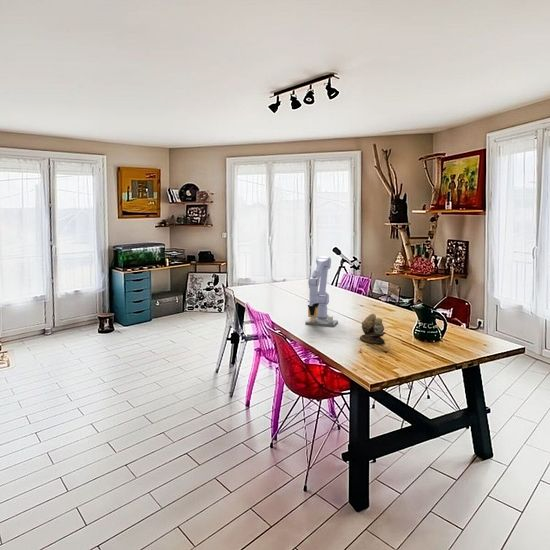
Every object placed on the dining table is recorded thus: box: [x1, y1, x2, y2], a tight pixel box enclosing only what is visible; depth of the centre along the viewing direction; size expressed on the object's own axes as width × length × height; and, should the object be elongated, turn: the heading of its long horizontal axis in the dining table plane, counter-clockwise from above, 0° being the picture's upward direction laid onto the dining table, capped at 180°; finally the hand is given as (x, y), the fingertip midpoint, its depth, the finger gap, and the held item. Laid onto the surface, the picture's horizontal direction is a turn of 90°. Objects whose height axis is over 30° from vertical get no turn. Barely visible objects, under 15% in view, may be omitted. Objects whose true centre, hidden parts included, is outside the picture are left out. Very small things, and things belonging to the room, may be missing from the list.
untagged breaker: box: [327, 315, 334, 323], centre depth 299 cm, size 3×3×4 cm
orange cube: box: [307, 307, 318, 318], centre depth 302 cm, size 6×6×6 cm
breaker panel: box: [305, 317, 339, 328], centre depth 301 cm, size 12×20×2 cm, turn 70°
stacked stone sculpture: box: [359, 313, 386, 345], centre depth 260 cm, size 18×12×17 cm, turn 34°
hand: (313, 314), depth 302 cm, fingers closed on orange cube, 6 cm apart
